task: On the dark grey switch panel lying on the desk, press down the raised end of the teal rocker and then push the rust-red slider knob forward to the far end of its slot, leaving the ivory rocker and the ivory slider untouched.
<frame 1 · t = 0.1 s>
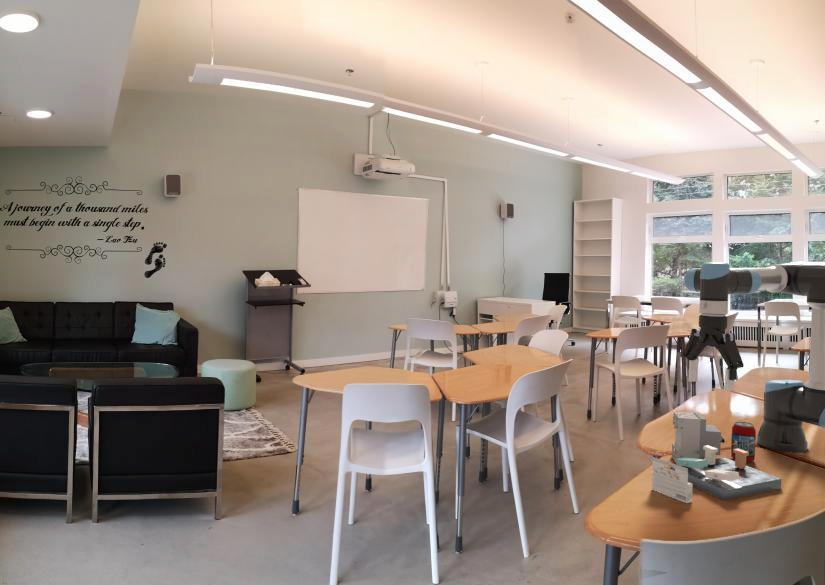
hand: (710, 385, 174), 28 cm above the table, fingers open, 13 cm apart
circuit breaker: (697, 462, 189), on the table
rocker ivory: (721, 474, 164), point 5 cm above the table, hinge at 13.0°
ink cartridge box: (671, 496, 162), on the table
slider ivory: (710, 455, 178), point 6 cm above the table, slide at 6.0 cm
rocker teal: (691, 462, 174), point 5 cm above the table, hinge at 13.0°
panel: (724, 482, 172), on the table
beverage can: (742, 460, 191), on the table
slider rust: (740, 458, 175), point 6 cm above the table, slide at 0.0 cm
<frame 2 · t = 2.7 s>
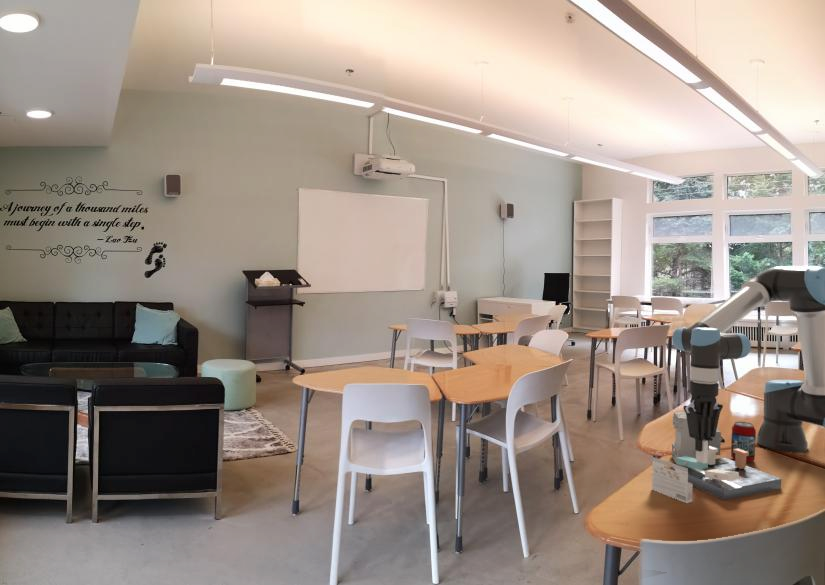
hand: (701, 461, 170), 7 cm above the table, fingers closed
rocker teal: (691, 462, 174), point 5 cm above the table, hinge at 7.0°, touching gripper
everything else where it was.
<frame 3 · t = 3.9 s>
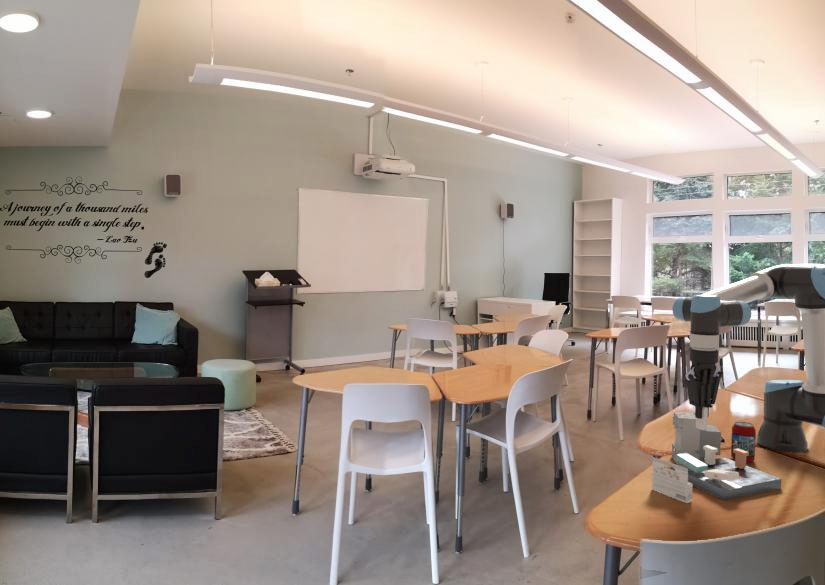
hand: (701, 428, 170), 16 cm above the table, fingers closed
rocker teal: (691, 462, 174), point 5 cm above the table, hinge at -8.8°
everything else where it was.
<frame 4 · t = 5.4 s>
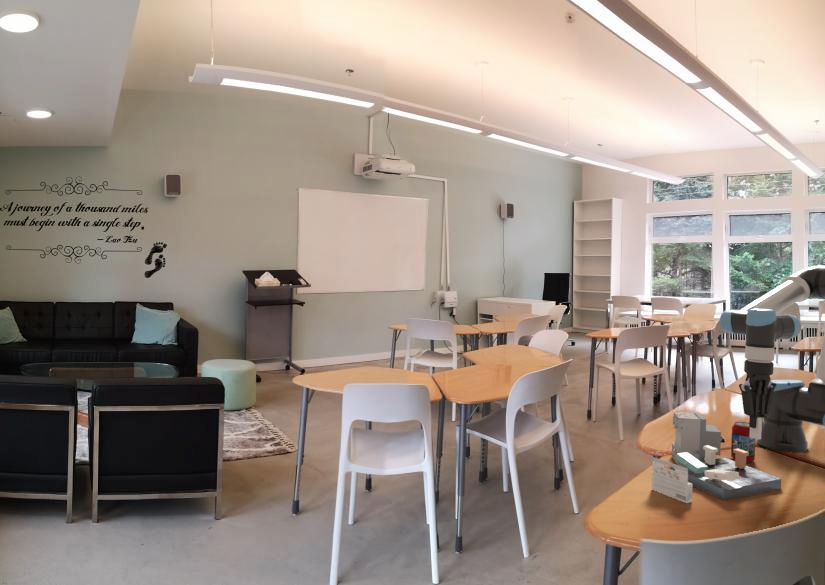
hand: (755, 438, 176), 12 cm above the table, fingers closed
rocker teal: (691, 462, 174), point 5 cm above the table, hinge at -13.5°
everything else where it was.
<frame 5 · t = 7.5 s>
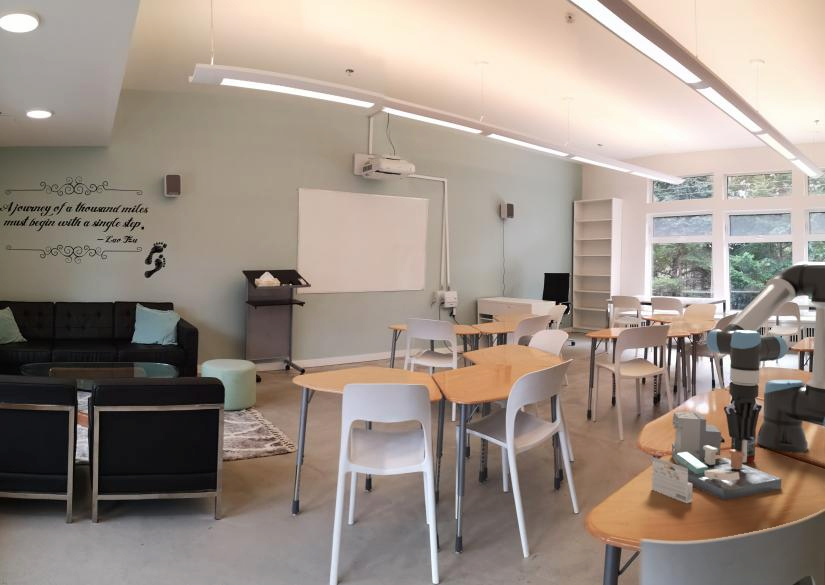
hand: (740, 460, 175), 5 cm above the table, fingers closed
rocker teal: (691, 462, 174), point 5 cm above the table, hinge at -14.9°
slider rust: (736, 459, 174), point 6 cm above the table, slide at 1.7 cm, touching gripper
everything else where it was.
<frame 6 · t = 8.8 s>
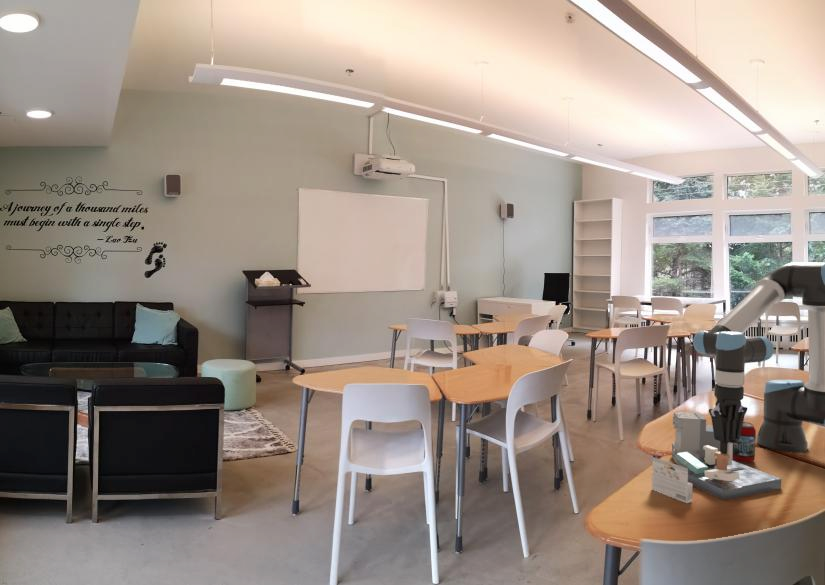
hand: (726, 463, 172), 5 cm above the table, fingers closed
slider rust: (721, 462, 172), point 6 cm above the table, slide at 7.6 cm, touching gripper
everything else where it was.
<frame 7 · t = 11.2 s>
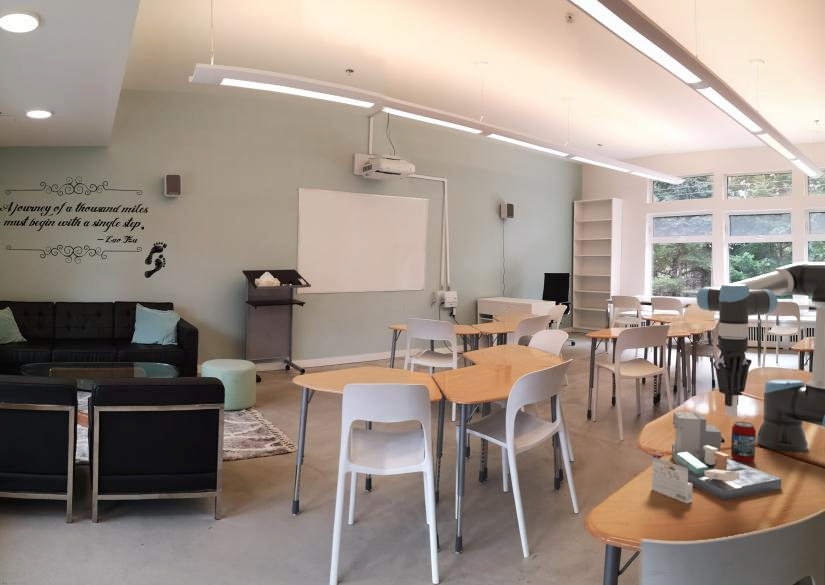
hand: (731, 416, 173), 19 cm above the table, fingers closed
slider rust: (721, 462, 172), point 6 cm above the table, slide at 7.7 cm
everything else where it was.
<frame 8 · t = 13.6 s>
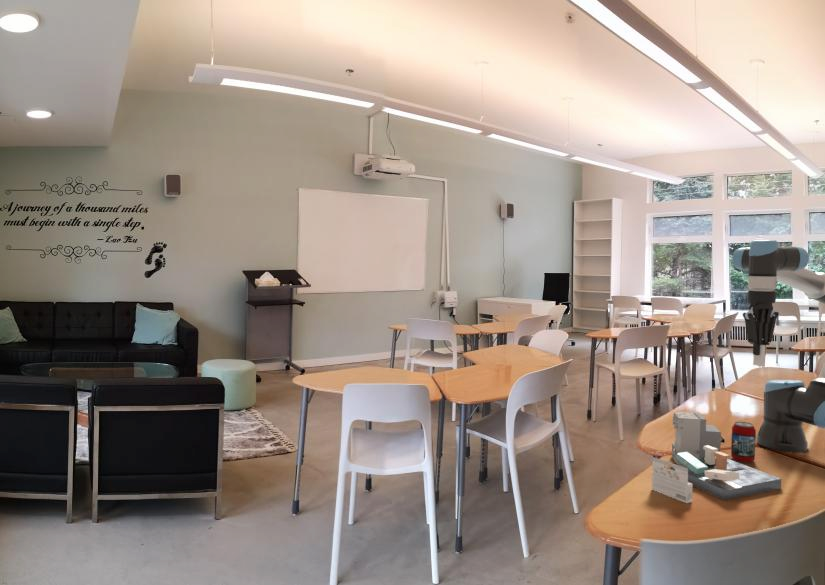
hand: (758, 365, 183), 32 cm above the table, fingers closed
nothing on the table moved.
at the end: rocker teal at -15° (first picture: +13°); slider rust slide at 7.7 cm; rocker ivory at +13° (first picture: +13°) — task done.
